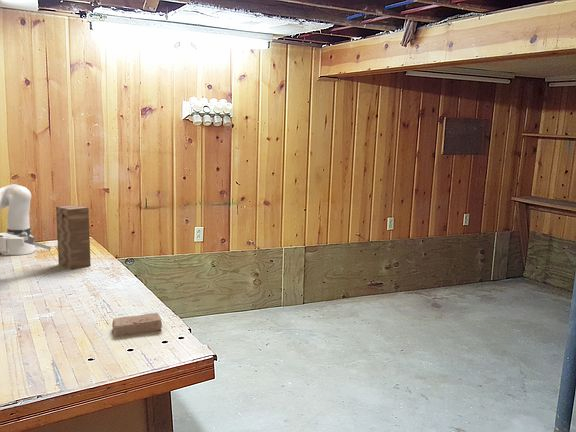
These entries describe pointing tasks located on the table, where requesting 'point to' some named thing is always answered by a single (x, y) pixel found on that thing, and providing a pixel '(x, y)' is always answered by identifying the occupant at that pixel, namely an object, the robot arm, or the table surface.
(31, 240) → the grey stepped bar
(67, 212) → the post
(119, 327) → the brick
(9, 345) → the table surface
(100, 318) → the table surface
